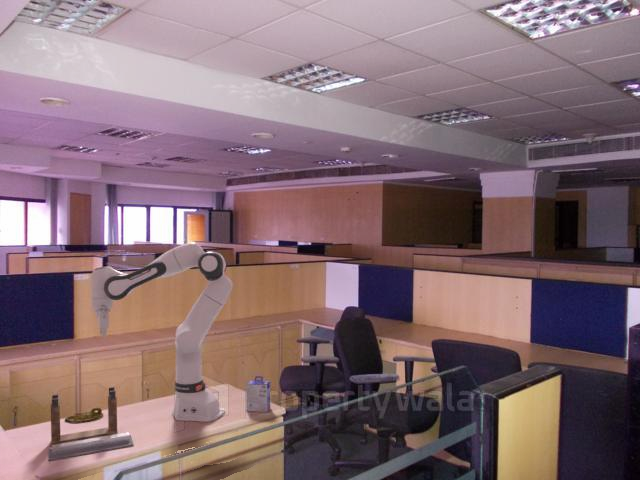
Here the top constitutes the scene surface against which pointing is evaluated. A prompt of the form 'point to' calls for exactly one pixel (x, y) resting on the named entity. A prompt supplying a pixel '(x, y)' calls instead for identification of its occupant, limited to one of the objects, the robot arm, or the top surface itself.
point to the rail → (90, 443)
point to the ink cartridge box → (258, 395)
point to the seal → (85, 416)
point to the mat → (89, 450)
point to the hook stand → (60, 439)
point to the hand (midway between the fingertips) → (103, 335)
